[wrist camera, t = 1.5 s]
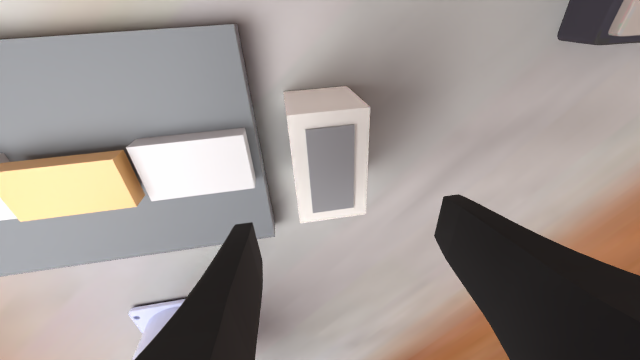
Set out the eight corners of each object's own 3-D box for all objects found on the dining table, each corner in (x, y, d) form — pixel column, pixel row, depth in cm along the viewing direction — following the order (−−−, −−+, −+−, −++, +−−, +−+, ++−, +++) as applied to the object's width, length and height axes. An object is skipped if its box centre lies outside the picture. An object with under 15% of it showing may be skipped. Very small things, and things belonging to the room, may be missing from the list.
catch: (145, 194, 16) (136, 206, 15) (36, 208, 15) (20, 221, 14) (123, 149, 14) (112, 159, 13) (2, 162, 14) (-20, 174, 13)
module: (346, 174, 20) (366, 215, 16) (294, 181, 20) (300, 225, 16) (346, 85, 17) (371, 108, 13) (283, 91, 16) (286, 116, 12)
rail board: (274, 223, 22) (274, 247, 19) (2, 262, 20) (-34, 294, 17) (236, 23, 14) (230, 24, 12) (-203, 53, 12) (-312, 60, 10)
